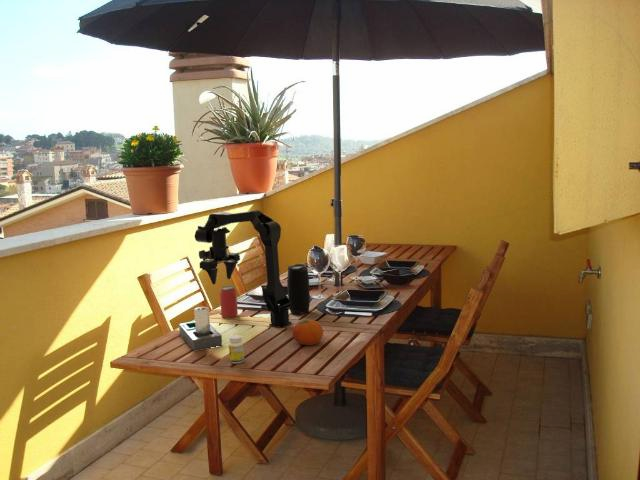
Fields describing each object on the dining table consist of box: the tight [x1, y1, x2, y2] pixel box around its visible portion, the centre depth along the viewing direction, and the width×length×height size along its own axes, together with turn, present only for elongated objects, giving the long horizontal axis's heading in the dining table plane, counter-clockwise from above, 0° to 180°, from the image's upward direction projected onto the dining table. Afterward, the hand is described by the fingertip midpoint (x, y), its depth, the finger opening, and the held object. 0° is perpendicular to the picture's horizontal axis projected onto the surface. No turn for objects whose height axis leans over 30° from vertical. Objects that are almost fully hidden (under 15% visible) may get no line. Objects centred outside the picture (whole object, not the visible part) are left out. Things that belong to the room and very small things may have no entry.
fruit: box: [292, 319, 324, 346], centre depth 219 cm, size 11×10×8 cm
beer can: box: [219, 285, 239, 319], centre depth 256 cm, size 7×7×12 cm
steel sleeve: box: [193, 306, 211, 337], centre depth 223 cm, size 5×5×13 cm
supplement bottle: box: [228, 334, 245, 364], centre depth 205 cm, size 5×5×8 cm
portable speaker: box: [286, 263, 311, 316], centre depth 257 cm, size 9×9×20 cm
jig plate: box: [178, 320, 223, 351], centre depth 228 cm, size 22×10×4 cm, turn 25°
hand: (221, 281), depth 255 cm, fingers open, 9 cm apart
